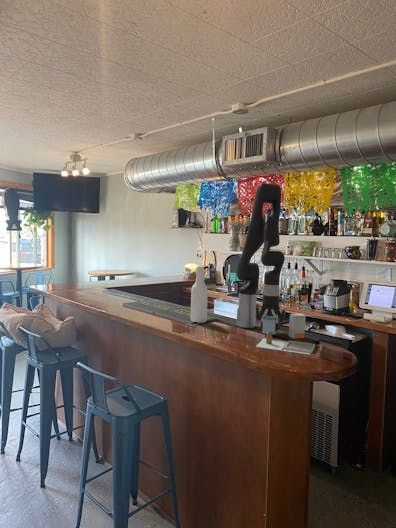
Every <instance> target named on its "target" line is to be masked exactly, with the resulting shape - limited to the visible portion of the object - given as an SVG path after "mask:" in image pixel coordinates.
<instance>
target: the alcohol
mask: <svg viewBox="0 0 396 528" xmlns="http://www.w3.org/2000/svg"><path fill="white" fill-rule="evenodd" d="M204 270H205V267H204V265H196V274H195V275H196V276H195V282H194V284H193V285H192V286H191V293H190V294H191V296H190V298H191V299H190V322H192V323H194V322H197V323H196V324H204V323H206V322H207V320H208V319H207V318H208V299H209V298H208V295H209V293H208V292H209V290H208V286H207V284H206V283H205V271H204Z"/></svg>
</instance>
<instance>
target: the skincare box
mask: <svg viewBox="0 0 396 528" xmlns="http://www.w3.org/2000/svg"><path fill="white" fill-rule="evenodd" d="M306 319H307V317H306V315H305V314H303V313H290V314H289V322H288V323H289V324H288V337H289V338H291V339H304V338H305V334H306V333H305V331H306V329H305V328H306Z"/></svg>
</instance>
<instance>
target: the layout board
mask: <svg viewBox="0 0 396 528" xmlns="http://www.w3.org/2000/svg"><path fill="white" fill-rule="evenodd" d="M255 347H256V348H263V349H268V350H269V349H270V350H276V351H284V352H290V353H295V354H296V353H297V354H304V355H309V356H310V355H311V354H313V352H314V350H315V348H316V343H311V342H302V341H294V340H288V341H287V340H281V339H273V334H272V332H270V331H267V334H266V337H265V338H262V339H261V340H260V342H258V343H257V344H256V346H255Z"/></svg>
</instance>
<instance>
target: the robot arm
mask: <svg viewBox="0 0 396 528" xmlns="http://www.w3.org/2000/svg"><path fill="white" fill-rule="evenodd" d="M281 202H282V187H281V186H280V185H279V184H277V183H276V184H275V183H268V182H260V183H259V184H258V185H257V187H256V191H255V195H254V201H253V208H252V213H251V217H250V222H249V224H248V229H247V233H246V238H245V241H244V246H243V249H242V253H241V255H240V258H239V260H238V264H237V268H236V277H237V279H238V280H239V281H245V282H247V283H246V284H244V285H243V286H241V287H239V289H238V307H237V309H236V327H240V328H243V329H244V328H247V329H250V328H251V329H252V328H255V327H256V322H257V321H256V320H258V321H260V328H261V330H262V329H263V318H265V317H266V316H271V317H274V319H276V327H275V331H277V332H278V331H279V329H280V323H281V324H282V323H283V322H284V320H285V315H286V313H287V312H286V311H287V310H286V308H281V306H280V295H281V294H280V293H281V290H280V289H281V288H280V282H281V281H280V278H281V272H282V269H283V266H284V263H285V261H286V259H285V258H286V257H285V253H283V252H282V251H281V250H271V248H273V247H279V245H280V215H281V205H282V203H281ZM264 204H271V212H270V215H269V216H268V218H267V220H266V221H265V218H264V214H263V208H264ZM262 246H263V248H262V252H261V256H260V261H261V263H262V264H261V265H263V266H265V267H273V269H272V270H268V271H265V272H264V276H263V278H264V280H263V288H262V289H263V290H262V305H261V306H257V300H258V299H257V298H258V296H257V295H258V289H259V282H260V281H259V280H260V266H259V264H258V263H255V262H250V261H251V259H252V258H253V256H254V255H255V254H256V253H257V252H258V251H259V250H260V248H261V247H262ZM261 311H263V314H262V316H261ZM279 312H280V318H279V315H278V313H279Z"/></svg>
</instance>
